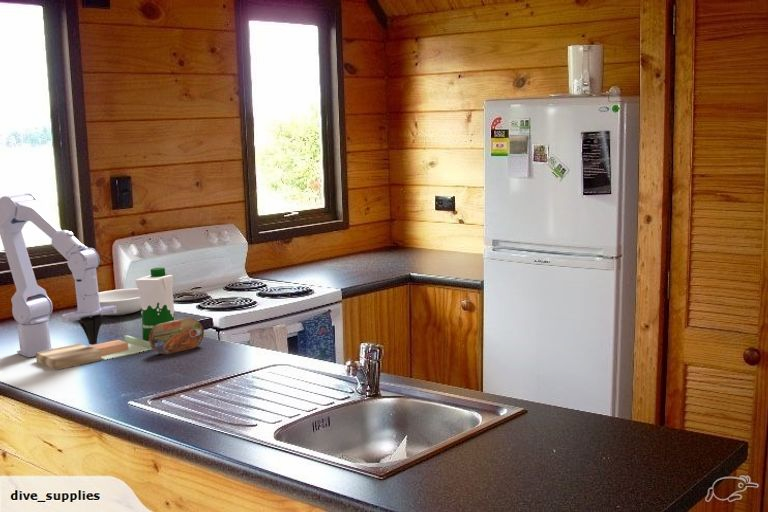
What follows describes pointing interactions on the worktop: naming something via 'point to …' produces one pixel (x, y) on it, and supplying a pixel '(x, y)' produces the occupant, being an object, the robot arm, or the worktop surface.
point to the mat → (130, 348)
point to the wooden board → (68, 356)
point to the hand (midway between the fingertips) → (92, 343)
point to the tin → (176, 336)
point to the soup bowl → (121, 300)
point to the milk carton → (155, 299)
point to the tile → (111, 347)
